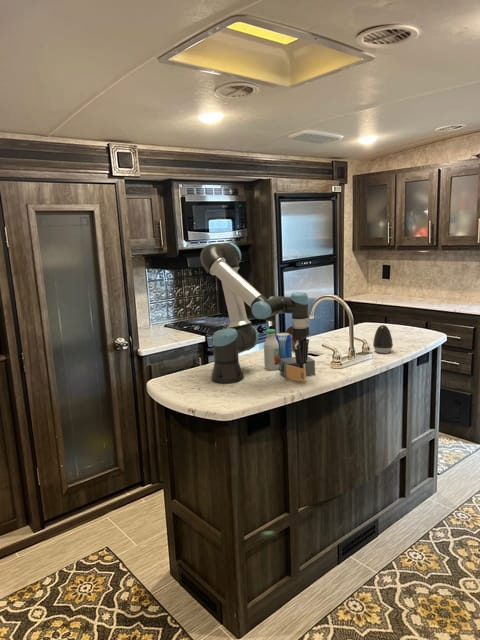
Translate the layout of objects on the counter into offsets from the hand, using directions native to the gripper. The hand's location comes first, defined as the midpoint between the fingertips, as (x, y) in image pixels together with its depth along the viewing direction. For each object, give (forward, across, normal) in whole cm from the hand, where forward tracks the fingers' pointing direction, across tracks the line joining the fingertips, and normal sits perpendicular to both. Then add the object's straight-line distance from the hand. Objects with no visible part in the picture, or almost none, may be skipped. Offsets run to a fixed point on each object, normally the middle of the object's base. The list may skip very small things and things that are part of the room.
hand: (302, 377), depth 214 cm
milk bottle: (+2, +13, +22) cm, 26 cm away
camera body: (+2, +9, +7) cm, 11 cm away
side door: (+1, -2, +3) cm, 4 cm away
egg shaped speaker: (+3, +62, -20) cm, 65 cm away
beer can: (+2, +22, +20) cm, 30 cm away
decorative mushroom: (+3, +50, +26) cm, 56 cm away
